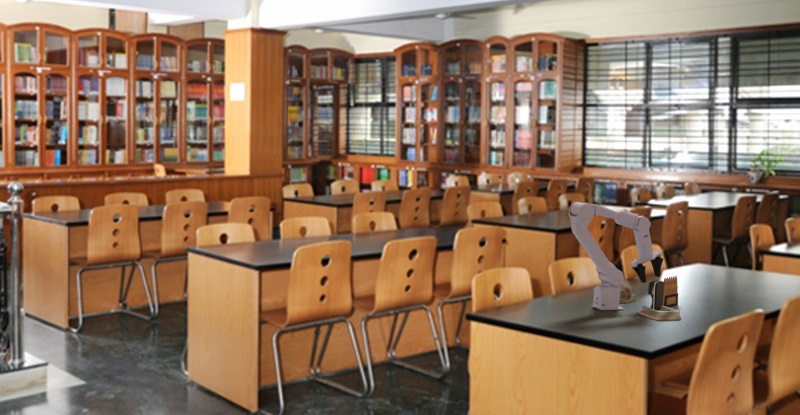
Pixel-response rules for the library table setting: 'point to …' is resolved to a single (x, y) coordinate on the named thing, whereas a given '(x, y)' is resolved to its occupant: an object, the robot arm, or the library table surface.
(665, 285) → the ammunition clip
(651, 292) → the battery
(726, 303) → the library table surface
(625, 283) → the ceramic model
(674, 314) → the battery dock
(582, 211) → the robot arm
